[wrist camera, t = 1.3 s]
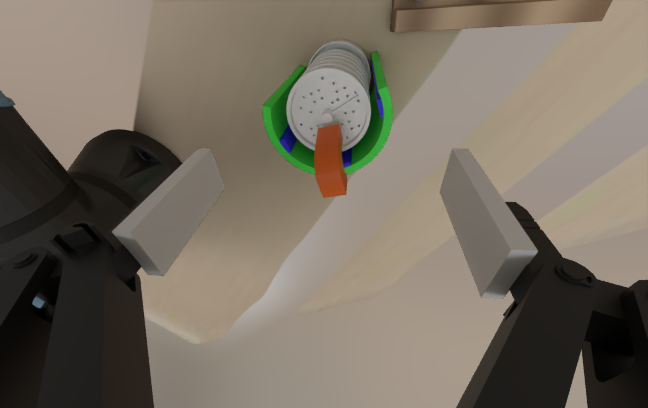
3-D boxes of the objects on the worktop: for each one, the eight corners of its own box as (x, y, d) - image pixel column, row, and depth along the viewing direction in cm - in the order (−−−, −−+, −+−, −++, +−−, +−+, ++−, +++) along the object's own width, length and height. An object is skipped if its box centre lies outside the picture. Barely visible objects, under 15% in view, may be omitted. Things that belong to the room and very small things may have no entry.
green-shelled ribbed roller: (368, 20, 25) (378, 53, 12) (390, 97, 30) (416, 187, 16) (290, 61, 28) (225, 126, 15) (320, 125, 33) (292, 221, 19)
